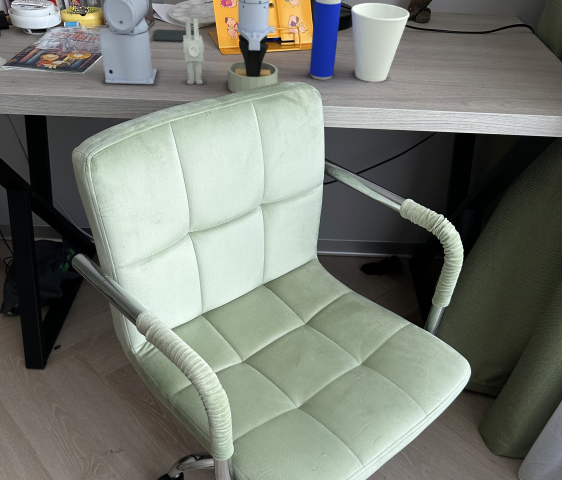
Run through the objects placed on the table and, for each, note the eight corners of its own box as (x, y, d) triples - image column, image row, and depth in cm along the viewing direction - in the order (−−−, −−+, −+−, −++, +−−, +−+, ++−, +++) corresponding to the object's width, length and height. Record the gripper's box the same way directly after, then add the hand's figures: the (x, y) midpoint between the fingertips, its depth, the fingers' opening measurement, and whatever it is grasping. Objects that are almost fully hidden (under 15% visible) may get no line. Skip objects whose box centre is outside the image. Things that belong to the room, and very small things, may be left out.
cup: (332, 73, 125) (339, 7, 116) (368, 63, 131) (377, -1, 122) (373, 90, 119) (383, 22, 110) (409, 78, 125) (421, 13, 116)
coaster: (153, 40, 135) (153, 39, 134) (156, 31, 140) (156, 29, 140) (192, 42, 135) (192, 40, 135) (193, 32, 141) (193, 30, 140)
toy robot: (186, 91, 114) (182, 22, 105) (184, 77, 119) (180, 11, 111) (206, 91, 115) (203, 23, 106) (203, 77, 120) (200, 11, 111)
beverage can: (318, 70, 126) (325, -10, 115) (337, 76, 124) (346, -5, 113) (304, 76, 123) (310, -6, 112) (323, 82, 121) (331, -1, 110)
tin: (228, 95, 113) (227, 77, 111) (228, 77, 120) (227, 59, 118) (278, 97, 114) (279, 78, 112) (275, 79, 121) (276, 61, 119)
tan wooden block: (235, 87, 116) (235, 73, 114) (235, 82, 118) (235, 68, 116) (270, 88, 116) (270, 74, 114) (269, 83, 118) (269, 69, 116)
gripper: (277, 11, 102) (274, 92, 111) (273, -9, 112) (270, 66, 121) (237, 10, 101) (238, 91, 111) (236, -11, 111) (237, 65, 121)
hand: (252, 78), depth 116 cm, fingers closed on tan wooden block, 2 cm apart
